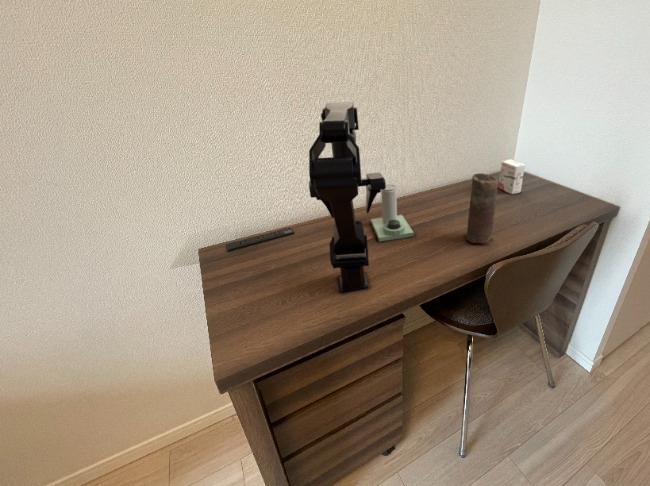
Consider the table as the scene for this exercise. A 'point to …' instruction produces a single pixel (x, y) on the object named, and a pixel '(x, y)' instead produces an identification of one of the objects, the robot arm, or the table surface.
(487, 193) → the candle
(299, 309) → the table surface
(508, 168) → the ink box
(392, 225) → the button
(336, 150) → the robot arm
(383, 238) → the pale green flat piece
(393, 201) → the beverage can
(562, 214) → the table surface
